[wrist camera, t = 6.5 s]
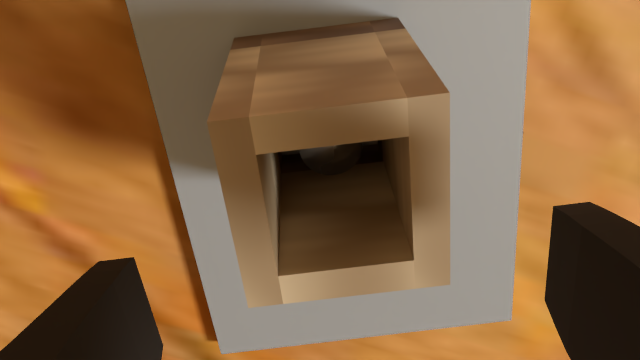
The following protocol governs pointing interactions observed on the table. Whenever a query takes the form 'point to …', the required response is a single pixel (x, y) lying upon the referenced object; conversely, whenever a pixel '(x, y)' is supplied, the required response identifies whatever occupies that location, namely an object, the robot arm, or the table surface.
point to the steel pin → (332, 158)
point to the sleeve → (342, 189)
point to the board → (465, 145)
